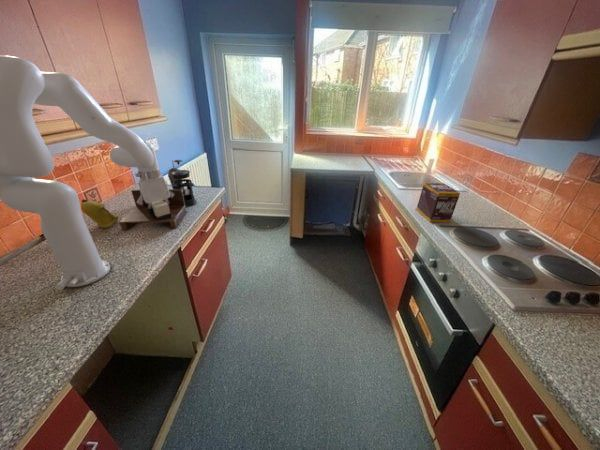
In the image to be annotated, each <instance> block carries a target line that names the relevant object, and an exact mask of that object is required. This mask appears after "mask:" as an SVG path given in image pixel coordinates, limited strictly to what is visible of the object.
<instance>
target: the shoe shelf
mask: <svg viewBox="0 0 600 450" xmlns="http://www.w3.org/2000/svg"><path fill="white" fill-rule="evenodd" d="M168 190H169V191H171V192H172V193H174V196H173V197H172V199H171V200H170V202H169V208H170V214H171V216H172V217H169V218H166V219H162V220H158V219H156V218H155V217H153V216H152V215H150V214H149V212H148V208H147V207H144V206H142V205H140V204H138V203H137V200H138V199H139V197H140V195H141V193H140V189H131V194H132V197H133V200H134V203H135V207H133V208H132V210H130V212H128V213H127V214H126V215H125V216H124V217H123V218H122V219H121V220H119V225H120V228H121V230H122V231H128V230H129V229H130V227H132V226H133V225H134V224H145V223H146V224H147V223H169V224H170V228H171V229H177V228H178V226H179V225H180V223H181V221H182V220H183V218H184V217H185V215H186V213H187V208H186V207H185V202H184V197H183V193H182V189H173V188H172V189H171V188H168ZM167 194H168V193H167ZM142 202H144V203H146V202H145V201H144V200H142Z"/></svg>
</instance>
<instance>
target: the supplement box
mask: <svg viewBox="0 0 600 450" xmlns="http://www.w3.org/2000/svg"><path fill="white" fill-rule="evenodd" d="M460 196H461V192H459V191H457V190H456V189H454V188H453V187H451V186H449V185H448V184H446V183H444V182H424V183H423V185H422V189H421V192H420V196H419V198H418V203H417V206H416V211H417V212H418V213H420V214H421V216H423V217H424V219H426V221H428V222H429V223H451V220H452V217H453V215H454V212H455V209H456V206H457V203H458V200H459V198H460Z"/></svg>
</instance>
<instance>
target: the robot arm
mask: <svg viewBox="0 0 600 450" xmlns="http://www.w3.org/2000/svg"><path fill="white" fill-rule="evenodd" d="M34 105H37V106H46V107H58V108H59V109H61V111H63V112H64V113H65V114H66V115H67V116H68V117H69V118H71V119H72V121H73V122H75V123H76V125H78V126H79V128H81V129H82V130H83V131H84V132H85V133H87V135H90V136H92V137H94V138H96V139H100V140H102V141H104V142H109V143H111V144H113V145H115V146H114V147H113V148H112V149H110V152H109V159H110V161H112V163H113V164H114V165H117V166H119V167H124V168H125V167H126V168H137V172H136V173H134V176H135V178H138V187H139V190H140V193H141V195H140V197H139V199H138V200H137V203H138V204H140V205H142V206H144V207H147V208H148V211H149V214H150V215H152V216H153V217H155V214H154V210H153V208H152V207H151V206H152V203H153V202H157V201H161V200H163V201H164V202H166V203H167V204H168V206H169V202H170V200H171V199H172V197H173V196H174V193H172V192H171V191H169V190H168V189H169V187H168V185H167V181H166V179H165V176H164V175H162V174H161V170H160V166H159V162H158V158H157V154H156V150H155V146H154V145H153V144H152V143H151V142H147V141H146V142H145V141H144V140H143V139H142V138H141V137H140V136H139V135H138V134H137V133H135V132H134V131H133V130H131V129H130V128H128V127H127V126H125V125H124V124H121V123H120V122H118V121H117V120H115V119H113V118H112V117H111V116H110V115H109V114H108V113H107V112H106V111H105V109H104V108H103V107H102V106H101V105H100V104H99V103H98V102H97V101H96V99H95V98H94V97H93V96H92V95H91V94H90V92H88V90H87V89H86V88H85V87H84V86H83V85H82V84H81V83H80V82H79V80H77V79H76V78H75V77H73V76H71V75H70V74H67V73H64V72H55V71H54V72H53V71H41V70H40V68H39V67H38V66H37V65H36V64H34V63H33V62H32V61H30V60H28V59H25V58H22V57H19V56H13V55H0V201H1V202H2V203H3V204H4V205H5V206H6V207H8V208H10V209H12V210H15V211H19V212H23V213H29V214H37V215H39V217H40V230H41V232H42V234H43V236H44V238H45V240H46V242H47V244H48V245H49V247H50V249H51V251H52V253H53V254H54V257H55V259H56V260H57V262H58V264H59V266H60V268H61V270H62V272H61V277H60V281H59V282H58V283H57V284H55V286H54V288H55V289H56V290H59V291H62V290H64V288H65V287H67V288H80V287H83V286H87V285H90V284H93V283H95V282H98V281H99V280H101V279H102V278H104V277H105V276H106V275H108V274H109V272H110V271H111V264H110V262H108V261H107V260H105V259H104V260H103V259H102V258H101V256H100V254H99V252H98V248H97V247H96V244H95V242H94V240H93V237H92V235H91V232H90V230H89V228H88V226H87V224H86V221H85V219H84V216H83V211H82V209H81V202H80V197H79V195H78V192H77V191H76V190H75V189H74V188H73V187H72V186H70V185H69V184H66V183H65V182H61V181H58V180H52V179H51V180H49V179H41V178H45V177H48V176H49V175H51V173H53V171H54V169H55V161H54V159H53V156H52V154H51V153H50V150H49V148H48V146H47V145H46V143H45V140H44V139H43V137H42V135H41V133H40V131H39V129H38V127H37V124H36V121H35V120H34V117H33V116H34V115H33V108H34ZM167 193H168V194H167ZM142 200H144V201H145V202H146V203H144V202H142ZM169 210H170V208H169Z"/></svg>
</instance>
